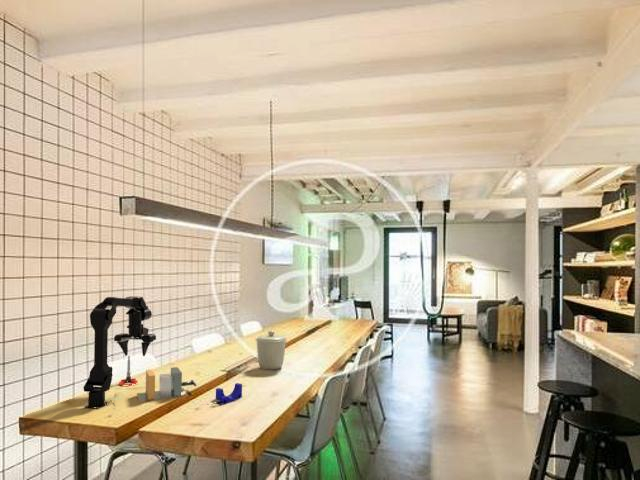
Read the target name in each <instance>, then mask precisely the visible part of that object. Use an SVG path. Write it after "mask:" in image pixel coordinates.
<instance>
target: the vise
mask: <svg viewBox="0 0 640 480" xmlns="http://www.w3.org/2000/svg"><path fill="white" fill-rule="evenodd" d="M170 376H171V396H165V397H161V395H160V393H159V390H155V399H152V400H151V401H156V400H164V399H171V398H172V399H173V398H174V399H175V398H180V397H188V396H189V394H188V392H187V393H186V394H184V395H181V392H183V391H186V390H185V388H184V387H185V386H186V387H188V386H194V387H197V383H196V382H195V381H194V380H193V379H191V380H190V381H183V372H182V371H181V370H180V369H179V367H178V366H177V367H176V366H175V367H170ZM136 394H137V397H138V398H137V399H138V401H139V402H150V400H148V398H147V395H146V391H145V392H137V393H136Z"/></svg>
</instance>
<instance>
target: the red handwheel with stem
mask: <svg viewBox="0 0 640 480" xmlns="http://www.w3.org/2000/svg"><path fill="white" fill-rule="evenodd" d="M127 356H128V357H127V366H126V367H127V368H126V369H127V371H126V377H125V379H121V380H120V381H119V383H118V386H120V385H132V384H136V383H137V382H139V381H138V380H137V378H132V376H131V356H130V355H127ZM127 381H131V382H130V383H128V382H127ZM125 382H126V383H125ZM137 384H138V383H137ZM137 384H136V385H137Z"/></svg>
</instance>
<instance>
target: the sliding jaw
mask: <svg viewBox="0 0 640 480" xmlns="http://www.w3.org/2000/svg"><path fill="white" fill-rule="evenodd" d="M155 391H156V374H155V372H154V371H153V369H146V370H145V392H146V395H147V398H148V400H149V401H153V400H152V399H155Z"/></svg>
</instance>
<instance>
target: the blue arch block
mask: <svg viewBox="0 0 640 480" xmlns="http://www.w3.org/2000/svg"><path fill="white" fill-rule="evenodd" d="M242 398H243V384H242V383H239V382H237V383H234V387H233V390H232V391H231V393H230V394H229V395H225V393H224V388H220V387H217V388H215V399H216V400H219V401H215V403H216V404H220V405H225V404H228V403H232V402H234V401H235V400H238V399H242Z"/></svg>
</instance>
